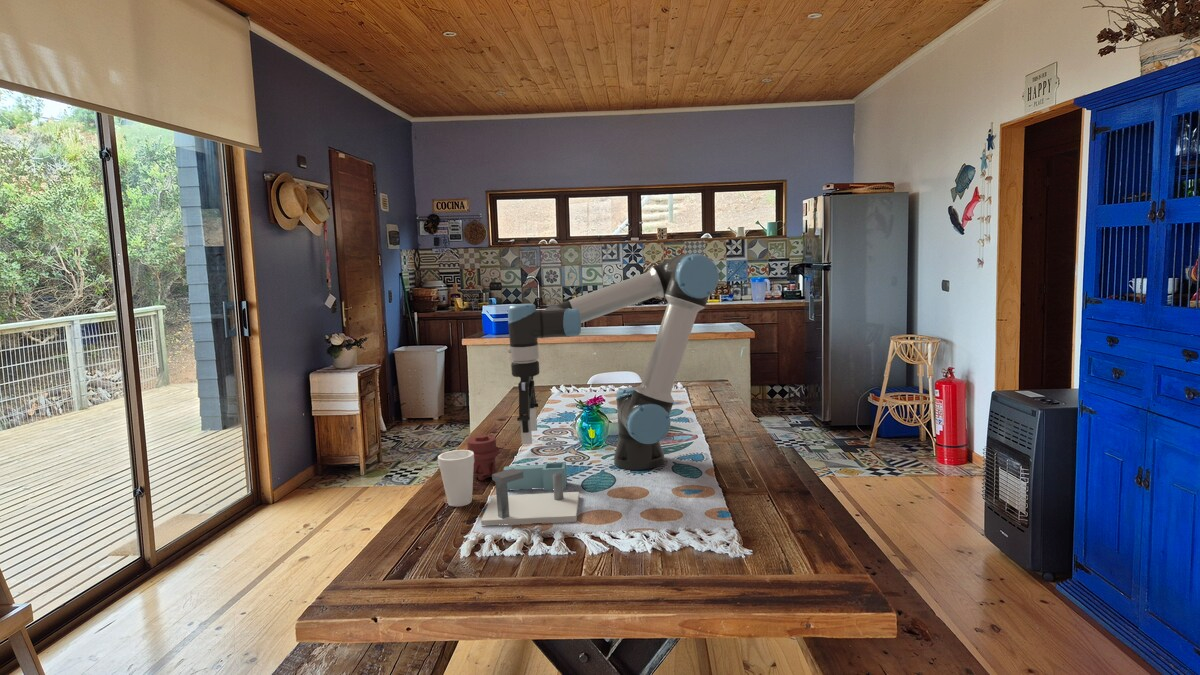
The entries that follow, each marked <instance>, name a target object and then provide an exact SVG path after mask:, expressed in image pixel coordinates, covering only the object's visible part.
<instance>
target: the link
mask: <svg viewBox="0 0 1200 675" xmlns="http://www.w3.org/2000/svg"><path fill="white" fill-rule="evenodd" d="M513 468H514V469H517V470H519V471H522V472H523V475H524V478H522V479H518V480H515V481H511V482H508V483H507V490H510V489H532V488H544V489H543V491H544V490H550V491H554V490H553V489H554V488H553V474H554V473H562V482H563V489H567V486H566V485H568V478H567V475H568V474H567V462H566V461H559V462H557V461H555V462H544V464H531V465H530V464H529V465H512V466H511V465H510V466H509V465H508V466H504V467H503V470H502V471H506V470H509V469H513Z"/></svg>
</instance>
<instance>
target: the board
mask: <svg viewBox="0 0 1200 675" xmlns="http://www.w3.org/2000/svg"><path fill="white" fill-rule="evenodd" d="M553 488H554V490H553V492H551V493H550V492H547V493H546V492H545V493H528V494H510V495H509V494H508V503H509V516H510V517H507V518H504V519H502V518H500V517H498V508H497V496H496V495H493V496H491V498H490V501H489V503H488V505H487V507H486V509H485V511H484V513H483V516H482V517H481V520H480V525H499V524H500V525H501V526H505V525H504V524H508V525H507V526H517V525H520V524H521V525H532V524H531V523H542V524H556V523H557V524H559V523H560V524H561V523H576V522H577V519H578V518H577V517H578V513H579V512H578V510H579V504H580V491H570V492H569V491H568V492H567V491H566V492H565V491H564V490H563V482H562V473H554V474H553ZM502 524H503V525H502Z"/></svg>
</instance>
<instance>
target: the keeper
mask: <svg viewBox="0 0 1200 675" xmlns="http://www.w3.org/2000/svg"><path fill="white" fill-rule="evenodd" d="M491 478H492V481H493V482H495V493H496V495H495V496H497V508H498V517H500V518H502V519H504V518H507V517H510V516H509V503H508V495H509V494H508V490H507V483H508V482H511V481H515V480H518V479H522V478H524V475H523V472H522V471H519V470H517V469H514V468H513V469H509V470H506V471H503V470H502V471H499V472H495V474H492V476H491Z"/></svg>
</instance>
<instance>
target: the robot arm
mask: <svg viewBox="0 0 1200 675" xmlns="http://www.w3.org/2000/svg"><path fill="white" fill-rule="evenodd" d="M719 279H720V273H719V268H718V266H717V265H716V263H715V262H714V261H713V260H712V259H711V258H709V257H708V256H706V255H703V254H701V253H697V252H695V253H694V252H693V253H682V254H681V253H680V254H678V255H675V256H673V257H671V258H669V259H668V260H664V261H663V262H661V263H659V264H656V265H654V266H653V265H652V266H651V267H650V268H649V270H648V271H647V272H644V273H642V274H639V275H635V276H633V277H630V278H628V279H624V280H622V281H619V282H616V283H614V284H613V283H612V284H611V285H608V286H605V287H602V288H599V289H597V290H594V291H591V292H588V293H585V294H582V295H580V296H577V297H574V298H572V299H569V300H566V301H564V302H560V303H557V304H550V305H549V306H547V307H546V308H545V309H544V310H537V308H536V305H535V303H517V304H516V303H515V304H512V305H510V306H509V307H508V309H507V319H508V321H507V325H508V335H509V337H508V338H509V347H510V348H509V349H508V351H507V352H508V353H509V354H510V359H511V360H510V361H512V362H511V365H510V367H511V368H510V369H511V376H512V377H515V378H520V381H519V382H518V417H517V418H516V420H517V422H519V421H520V422H519V423H520V437H521V438H520V439H521V445H532V444H533V437H532V436H533V434H532V432H537V431H538V421H537V419H538V418H537V408H539V403H537V398H536V390H535V380H534V377H536V376H538V375H539V374H540V362H539V361H538V360H539V358H540V356H539V355H540V354H539V344H538V343H539V342H538V339H548V338H564V337H567V338H570V337H575V336H579V335H580V334H581V333H582V332H581V331H582V323H585V322H588V321H591V320H593V319H597V318H599V317H603V316H605V315H608V314H610V313H613V312H617V311H620V310H622V309H624V308H628V307H630V306H633V305H635V304H638V303H642V302H645V301H647V300H650V299H653V298H656V297H659V298H661V299H663V298H665V299H666V302H667V305H666V308H665V311H664V314H663V317H662V319H661V323H660V326H659V330H658V332H657V335H656V337H655V338H656V339H655V340H654V344H653V347H652V350H651V354H650V357H649V359H648V360H649V361H648V364H647V365H646V366H647V367H646V369H645V372H644V375H643V379H642V381H641V383H640V384H639V385H637V386H634V387H623V388H620V389H618V390H617V391H616V398H615V401H616V408H617V410H616V411H617V426H618V427H617V430H618V441H617V445H616V449H615V451H614V456H613V460H614V465H615V467H617V468H620V469H622V470H623V469H624V470H631V471H633V470H634V471H643V470H651V469H655V468H658V467H660V466H662V465H664V464H665V463H666V462H665V453H664V450H663V447H662V445H661V441H662V440H663V439H664V438H665V437H667V435H668V434H669V431H670V430H671V424H672V423H671V417H670V413H671V412H672V408H673V405H674V403H675V402H674V401H675V400H674V398H673V396H672V391H673V388H674V386H675V385H674V384H675V381H676V378H677V376H678V373H679V369H680V366H681V364H682V361H683V357H684V355H685V351H686V348H687V345H688V343H689V339H690V337H691V333H692V332H693V331H692V330H693V327H694V324H695V321H696V318H697V316H698V313H699V312H700V311H702V310H704V309H706V305H707V303H708V300H709V297H710V295H711V294H713V292H715V290H716V289H717V286H718V284H719V281H720V280H719Z"/></svg>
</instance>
